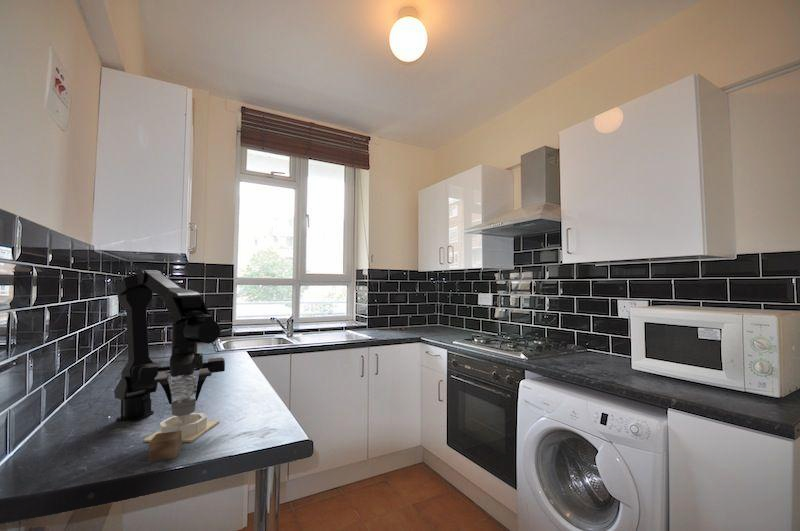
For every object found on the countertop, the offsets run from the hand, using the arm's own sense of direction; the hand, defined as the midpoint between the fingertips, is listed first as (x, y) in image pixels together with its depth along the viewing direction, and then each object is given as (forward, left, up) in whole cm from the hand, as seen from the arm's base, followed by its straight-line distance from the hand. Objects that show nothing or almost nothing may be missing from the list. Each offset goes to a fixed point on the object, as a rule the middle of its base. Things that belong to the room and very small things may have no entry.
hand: (183, 402), depth 92 cm
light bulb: (0, 0, -5) cm, 5 cm away
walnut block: (+4, -12, -8) cm, 15 cm away
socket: (0, 0, -7) cm, 7 cm away
